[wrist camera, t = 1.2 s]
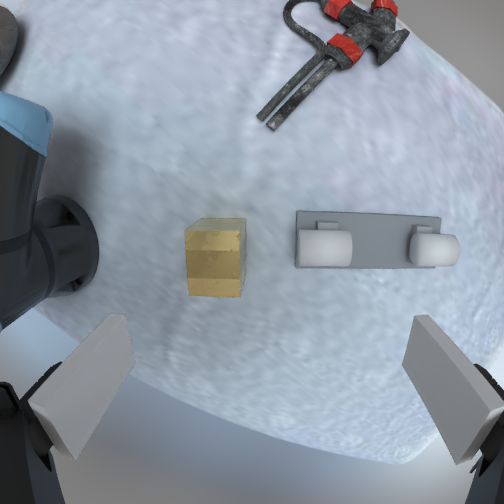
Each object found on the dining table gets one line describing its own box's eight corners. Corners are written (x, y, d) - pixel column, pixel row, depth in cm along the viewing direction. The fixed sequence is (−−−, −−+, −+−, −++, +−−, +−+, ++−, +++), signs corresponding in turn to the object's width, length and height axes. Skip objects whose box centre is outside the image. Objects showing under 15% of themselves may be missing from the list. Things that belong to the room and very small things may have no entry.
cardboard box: (246, 272, 39) (240, 297, 31) (204, 271, 39) (188, 295, 32) (245, 218, 37) (239, 230, 29) (201, 218, 37) (184, 230, 30)
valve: (333, -21, 29) (416, 36, 28) (215, 87, 36) (300, 155, 36) (334, -46, 23) (430, 16, 22) (198, 71, 30) (297, 148, 30)
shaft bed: (295, 265, 38) (299, 284, 32) (296, 210, 36) (302, 219, 30) (431, 266, 37) (454, 281, 31) (437, 217, 35) (463, 226, 29)
